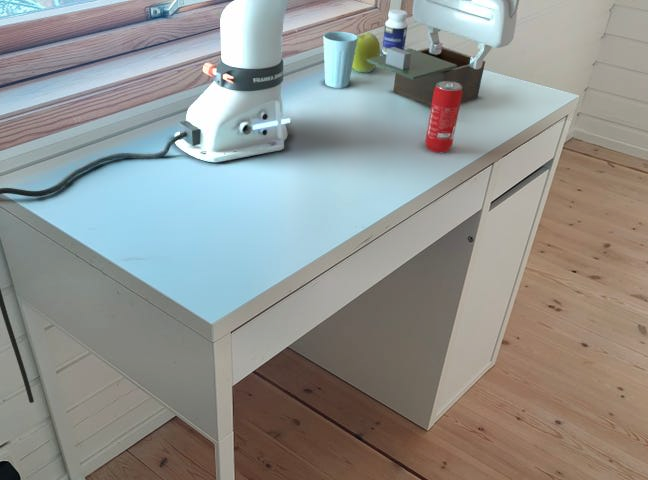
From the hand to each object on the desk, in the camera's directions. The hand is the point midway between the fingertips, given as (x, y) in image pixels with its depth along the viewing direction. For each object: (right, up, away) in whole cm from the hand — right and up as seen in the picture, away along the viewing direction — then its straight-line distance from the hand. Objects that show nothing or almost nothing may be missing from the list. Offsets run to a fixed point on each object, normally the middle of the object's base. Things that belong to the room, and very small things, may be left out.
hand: (454, 60), depth 122 cm
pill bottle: (-3, +26, +56) cm, 62 cm away
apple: (-12, +17, +45) cm, 49 cm away
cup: (-19, +10, +37) cm, 42 cm away
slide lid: (-4, +9, +23) cm, 25 cm away
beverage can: (-1, -13, +11) cm, 17 cm away
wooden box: (+4, +7, +33) cm, 34 cm away
